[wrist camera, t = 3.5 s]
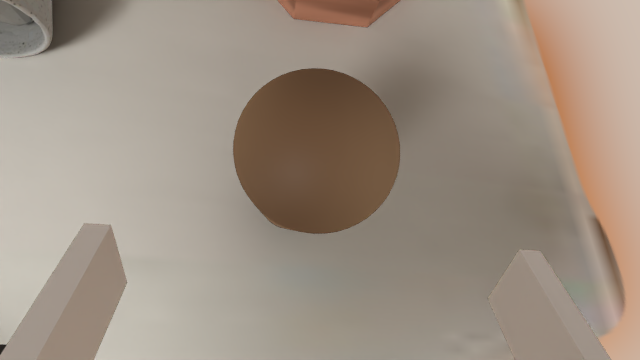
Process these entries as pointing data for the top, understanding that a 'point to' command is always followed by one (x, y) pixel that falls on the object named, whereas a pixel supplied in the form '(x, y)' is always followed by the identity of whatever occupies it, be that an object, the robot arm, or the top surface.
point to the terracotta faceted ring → (338, 10)
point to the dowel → (316, 151)
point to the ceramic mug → (25, 27)
